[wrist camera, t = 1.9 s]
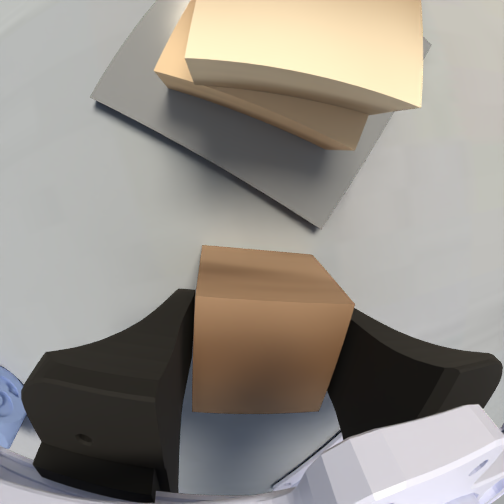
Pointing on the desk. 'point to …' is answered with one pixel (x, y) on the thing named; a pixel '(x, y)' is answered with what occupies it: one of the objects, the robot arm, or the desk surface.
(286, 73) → the beech block
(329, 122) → the oak slab
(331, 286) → the walnut cube
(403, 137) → the desk surface
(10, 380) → the decorative dice
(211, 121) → the slate coaster
